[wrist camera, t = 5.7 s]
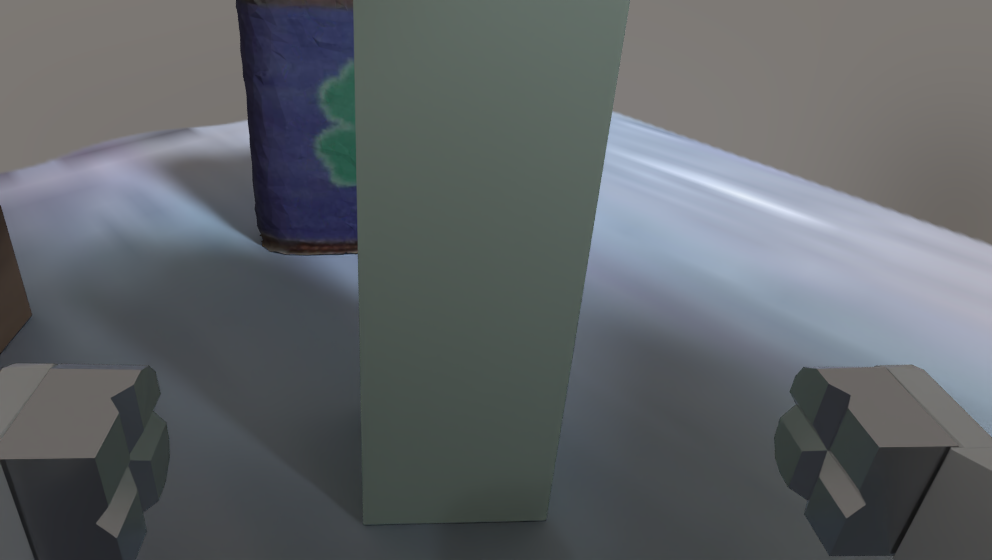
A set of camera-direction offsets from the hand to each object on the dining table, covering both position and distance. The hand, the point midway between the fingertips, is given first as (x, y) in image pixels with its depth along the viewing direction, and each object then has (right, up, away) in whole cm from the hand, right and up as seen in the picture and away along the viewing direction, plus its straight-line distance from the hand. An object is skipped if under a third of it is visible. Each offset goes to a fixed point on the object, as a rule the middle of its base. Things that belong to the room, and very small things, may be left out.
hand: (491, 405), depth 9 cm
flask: (-4, +3, +18) cm, 19 cm away
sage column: (-1, -3, +8) cm, 9 cm away
